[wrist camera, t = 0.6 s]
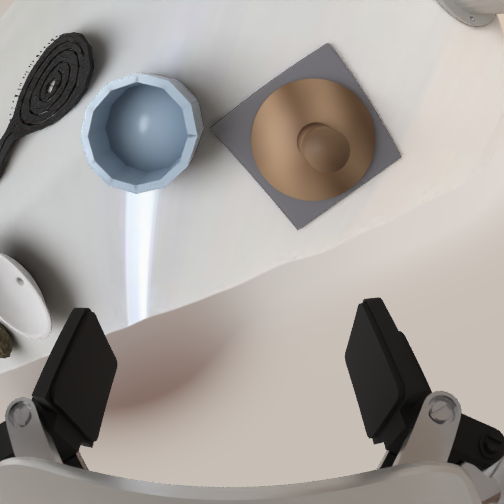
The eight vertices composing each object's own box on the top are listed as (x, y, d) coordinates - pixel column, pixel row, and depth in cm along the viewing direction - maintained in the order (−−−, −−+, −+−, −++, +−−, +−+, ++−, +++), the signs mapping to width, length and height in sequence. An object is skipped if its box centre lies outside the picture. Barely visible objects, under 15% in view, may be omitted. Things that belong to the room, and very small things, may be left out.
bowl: (154, 54, 24) (139, 50, 20) (224, 128, 29) (221, 137, 25) (85, 128, 28) (62, 138, 23) (150, 195, 32) (137, 213, 28)
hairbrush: (-37, 170, 25) (60, 15, 18) (-21, 160, 29) (78, 18, 21) (-7, 211, 29) (100, 64, 21) (8, 199, 32) (116, 64, 25)
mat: (326, 43, 24) (328, 42, 24) (399, 155, 31) (401, 156, 30) (210, 128, 29) (210, 128, 29) (297, 228, 35) (297, 230, 35)
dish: (81, 305, 41) (69, 328, 36) (35, 326, 43) (24, 346, 39) (12, 213, 32) (-8, 230, 28) (-24, 251, 35) (-40, 268, 30)
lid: (326, 55, 25) (344, 50, 20) (391, 154, 30) (415, 168, 26) (224, 129, 29) (221, 139, 24) (300, 219, 34) (310, 243, 30)
